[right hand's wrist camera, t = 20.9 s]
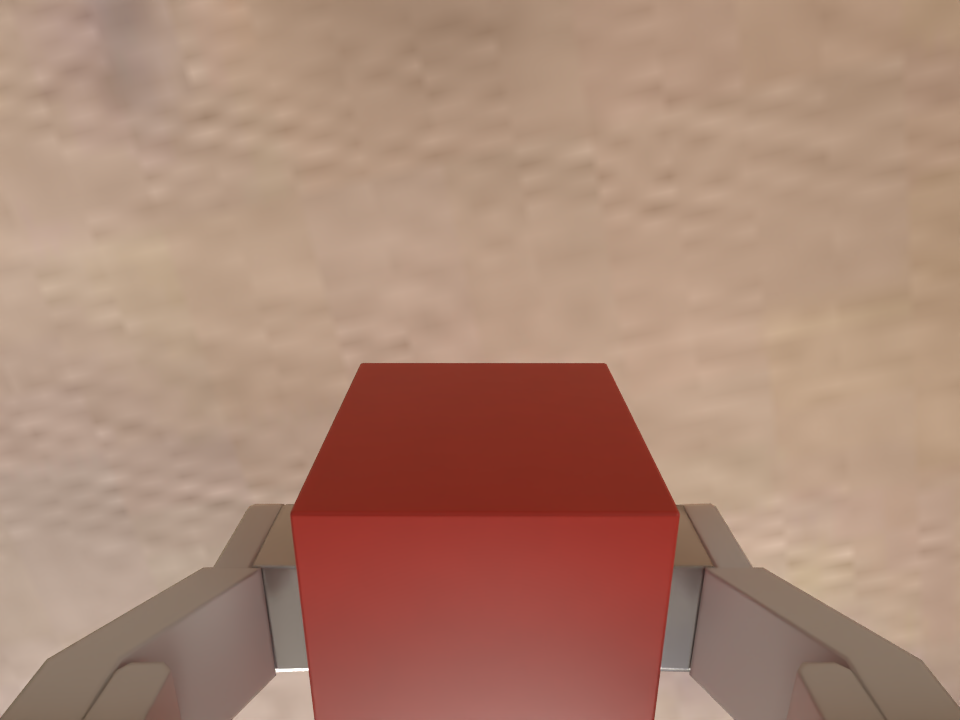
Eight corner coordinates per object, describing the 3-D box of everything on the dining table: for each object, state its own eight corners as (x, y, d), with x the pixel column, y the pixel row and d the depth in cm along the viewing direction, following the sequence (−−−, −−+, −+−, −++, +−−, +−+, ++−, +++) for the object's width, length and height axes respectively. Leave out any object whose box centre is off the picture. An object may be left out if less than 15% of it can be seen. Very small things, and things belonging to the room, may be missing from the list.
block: (590, 587, 13) (642, 817, 9) (375, 587, 13) (325, 817, 9) (606, 362, 11) (681, 513, 7) (360, 361, 11) (287, 512, 7)
